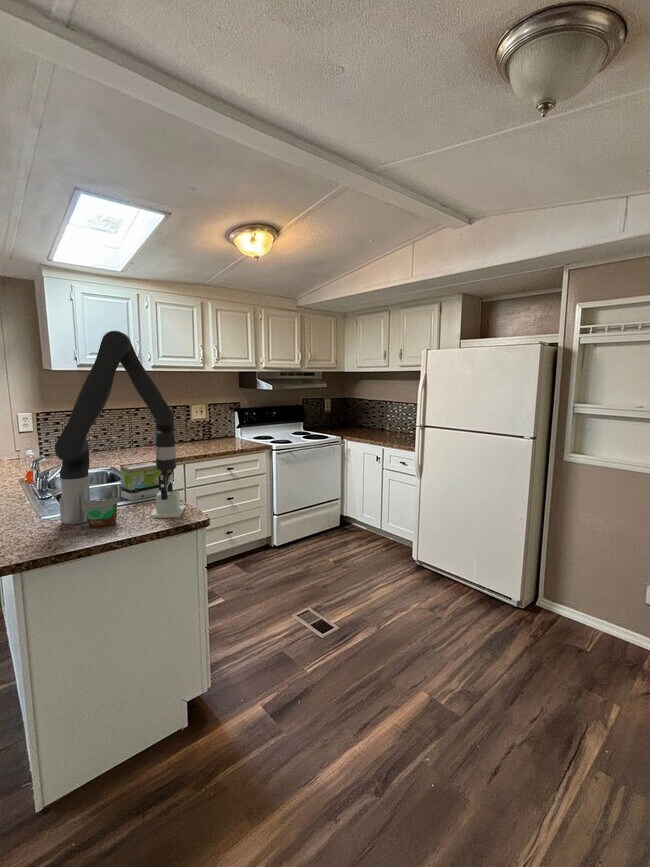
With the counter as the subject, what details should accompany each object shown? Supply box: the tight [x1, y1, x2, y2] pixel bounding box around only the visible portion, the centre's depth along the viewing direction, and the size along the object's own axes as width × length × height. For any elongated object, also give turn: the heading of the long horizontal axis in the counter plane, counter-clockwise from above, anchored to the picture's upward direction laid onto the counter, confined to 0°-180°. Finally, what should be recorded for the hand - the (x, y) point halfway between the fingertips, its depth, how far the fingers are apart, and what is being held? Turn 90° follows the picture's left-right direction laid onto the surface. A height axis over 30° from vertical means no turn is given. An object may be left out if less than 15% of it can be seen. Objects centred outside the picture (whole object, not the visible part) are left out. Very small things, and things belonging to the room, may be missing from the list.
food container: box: [82, 496, 120, 529], centre depth 151 cm, size 12×6×10 cm, turn 105°
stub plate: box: [149, 505, 186, 519], centre depth 167 cm, size 11×11×4 cm
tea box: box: [119, 461, 161, 501], centre depth 189 cm, size 15×10×15 cm, turn 143°
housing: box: [155, 491, 181, 512], centre depth 166 cm, size 8×5×7 cm, turn 97°
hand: (167, 496), depth 166 cm, fingers open, 8 cm apart
